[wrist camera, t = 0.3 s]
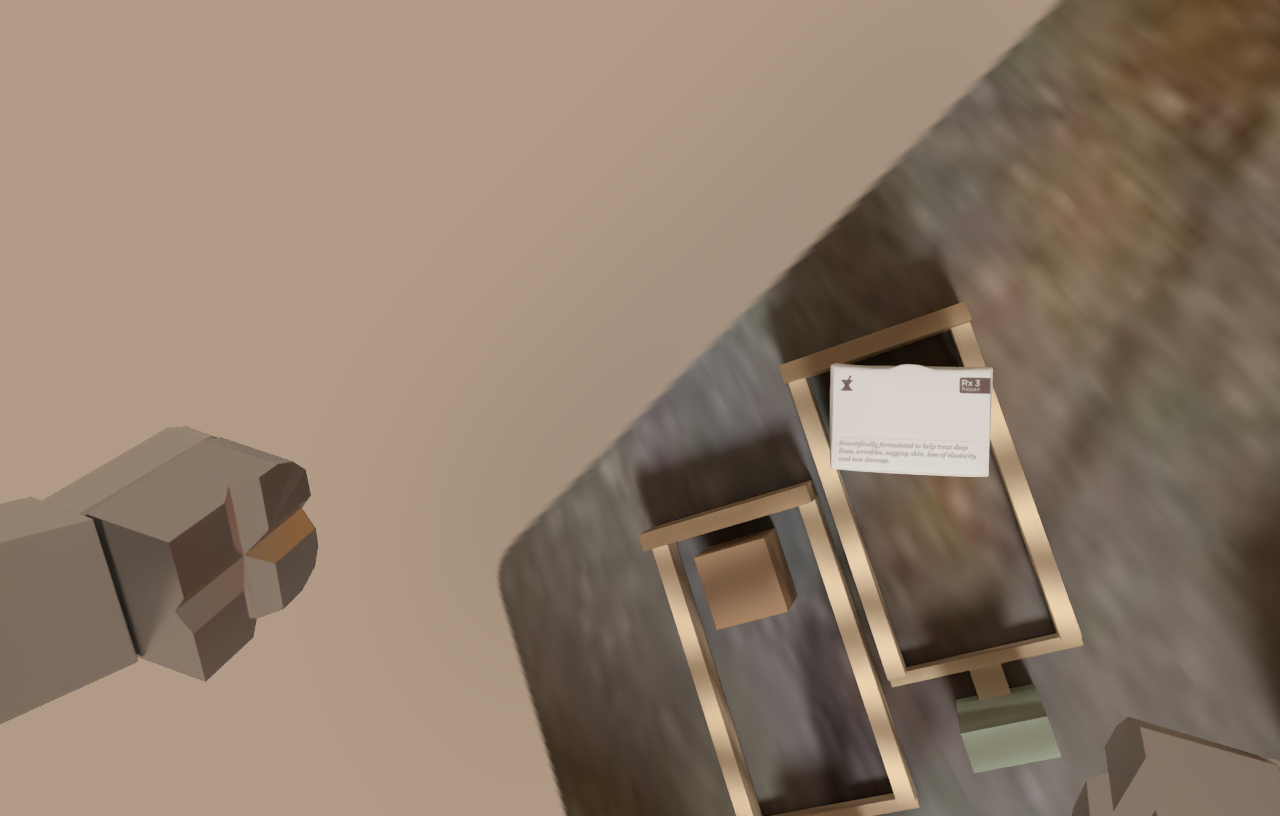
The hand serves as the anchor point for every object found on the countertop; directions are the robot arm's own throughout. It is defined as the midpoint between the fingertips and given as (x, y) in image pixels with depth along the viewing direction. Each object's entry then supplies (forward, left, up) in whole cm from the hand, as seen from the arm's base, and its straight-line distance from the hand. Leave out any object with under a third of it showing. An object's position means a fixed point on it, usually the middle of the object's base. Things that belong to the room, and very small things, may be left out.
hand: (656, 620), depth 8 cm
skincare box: (0, -2, -53) cm, 53 cm away
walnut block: (-7, +11, -52) cm, 54 cm away
